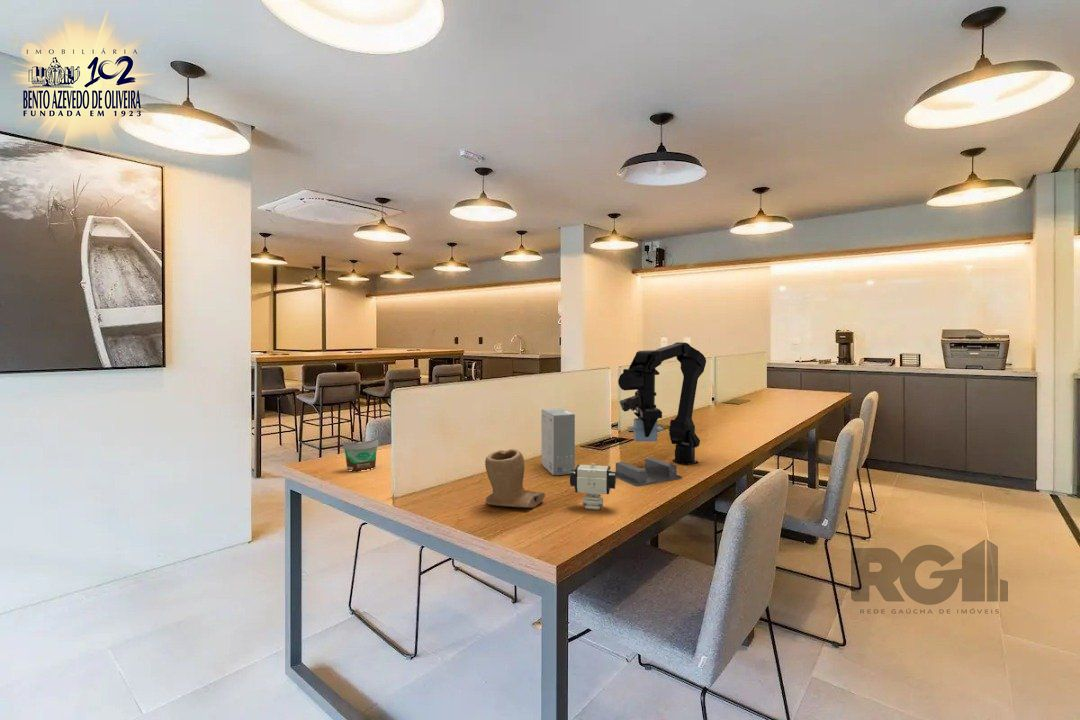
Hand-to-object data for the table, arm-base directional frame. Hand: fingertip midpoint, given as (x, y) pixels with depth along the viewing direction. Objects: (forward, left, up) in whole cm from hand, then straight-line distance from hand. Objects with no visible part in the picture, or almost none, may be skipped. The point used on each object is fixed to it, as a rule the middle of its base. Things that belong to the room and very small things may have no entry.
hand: (645, 435), depth 165 cm
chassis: (+3, +4, -12) cm, 13 cm away
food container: (+83, -47, -13) cm, 96 cm away
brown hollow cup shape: (+52, +9, -13) cm, 54 cm away
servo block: (0, 0, -2) cm, 2 cm away
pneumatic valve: (+34, +21, -13) cm, 42 cm away
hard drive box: (+24, -17, -13) cm, 32 cm away
